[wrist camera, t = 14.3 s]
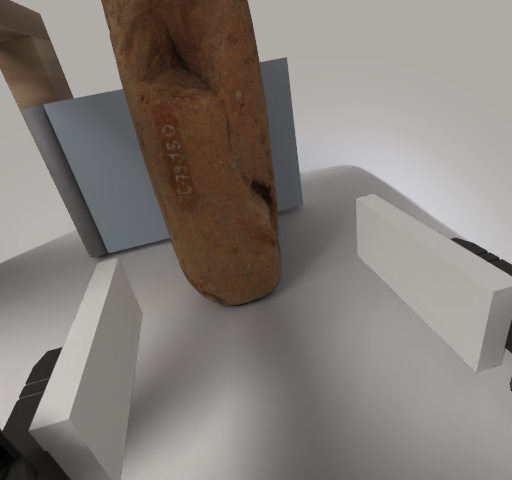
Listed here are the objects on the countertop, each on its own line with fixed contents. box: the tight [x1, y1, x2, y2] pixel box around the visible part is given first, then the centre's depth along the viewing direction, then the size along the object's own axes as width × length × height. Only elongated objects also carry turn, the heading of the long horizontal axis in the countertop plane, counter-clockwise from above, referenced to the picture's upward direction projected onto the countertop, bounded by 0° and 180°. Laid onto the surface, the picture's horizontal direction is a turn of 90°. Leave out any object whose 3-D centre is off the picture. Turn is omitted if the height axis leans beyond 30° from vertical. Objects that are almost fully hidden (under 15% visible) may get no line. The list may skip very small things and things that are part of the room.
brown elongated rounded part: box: [101, 0, 281, 306], centre depth 21 cm, size 11×8×20 cm
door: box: [20, 58, 303, 257], centre depth 30 cm, size 21×3×13 cm, turn 103°
